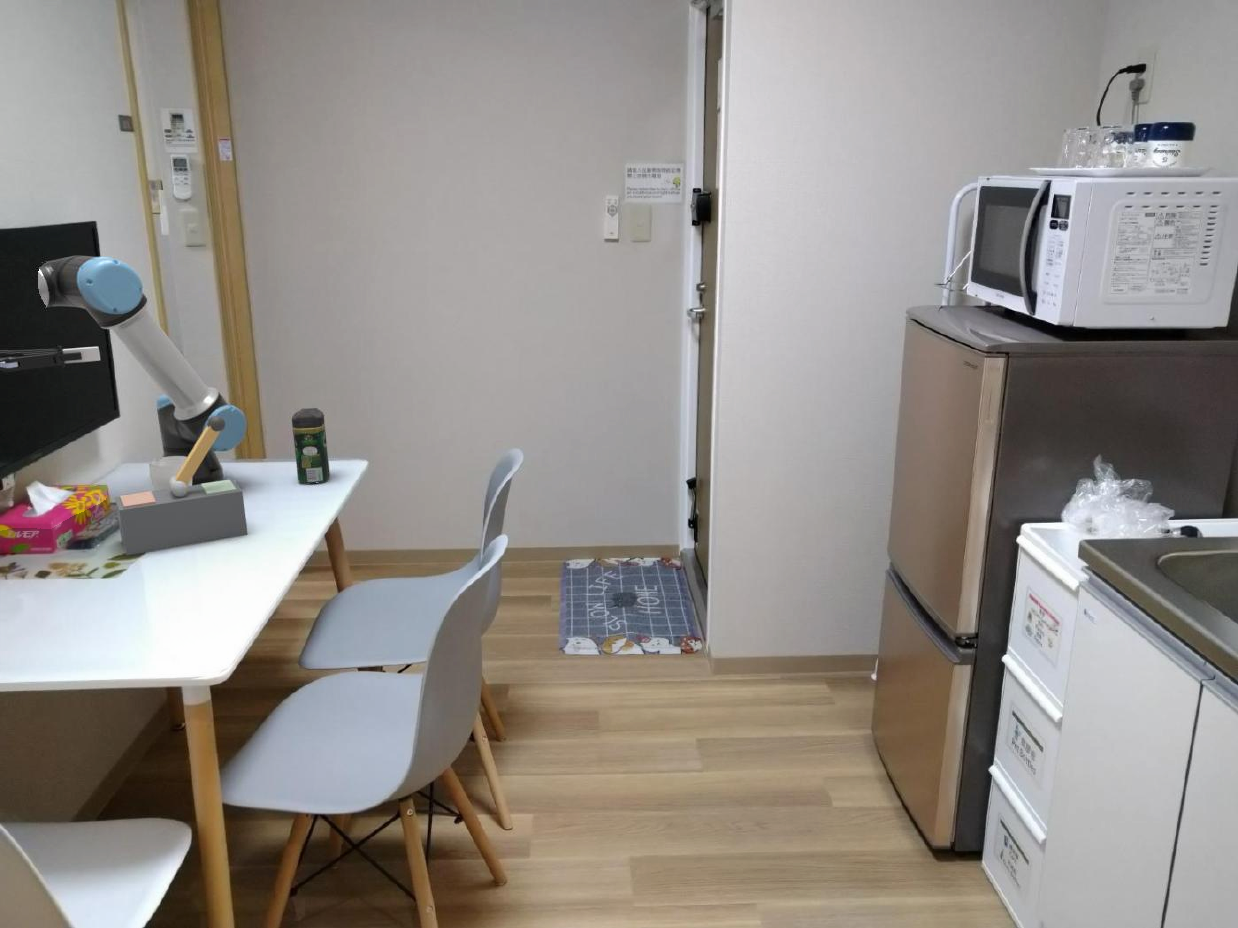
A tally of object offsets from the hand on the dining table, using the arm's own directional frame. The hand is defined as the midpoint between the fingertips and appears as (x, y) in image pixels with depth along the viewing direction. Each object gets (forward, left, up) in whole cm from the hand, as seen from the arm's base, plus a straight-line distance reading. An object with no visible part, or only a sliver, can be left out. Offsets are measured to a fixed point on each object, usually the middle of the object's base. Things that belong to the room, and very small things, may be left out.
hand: (99, 353), depth 198 cm
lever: (+10, +10, -29) cm, 32 cm away
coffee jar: (-18, +45, -40) cm, 63 cm away
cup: (-11, +11, -40) cm, 43 cm away
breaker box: (+10, +10, -40) cm, 43 cm away
